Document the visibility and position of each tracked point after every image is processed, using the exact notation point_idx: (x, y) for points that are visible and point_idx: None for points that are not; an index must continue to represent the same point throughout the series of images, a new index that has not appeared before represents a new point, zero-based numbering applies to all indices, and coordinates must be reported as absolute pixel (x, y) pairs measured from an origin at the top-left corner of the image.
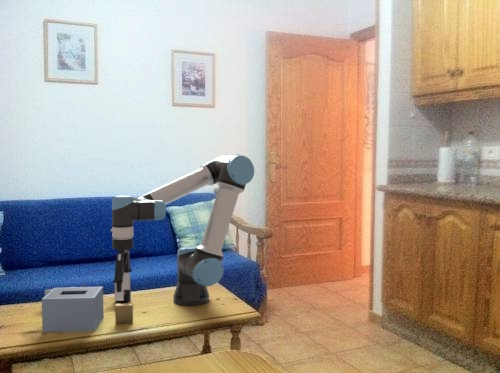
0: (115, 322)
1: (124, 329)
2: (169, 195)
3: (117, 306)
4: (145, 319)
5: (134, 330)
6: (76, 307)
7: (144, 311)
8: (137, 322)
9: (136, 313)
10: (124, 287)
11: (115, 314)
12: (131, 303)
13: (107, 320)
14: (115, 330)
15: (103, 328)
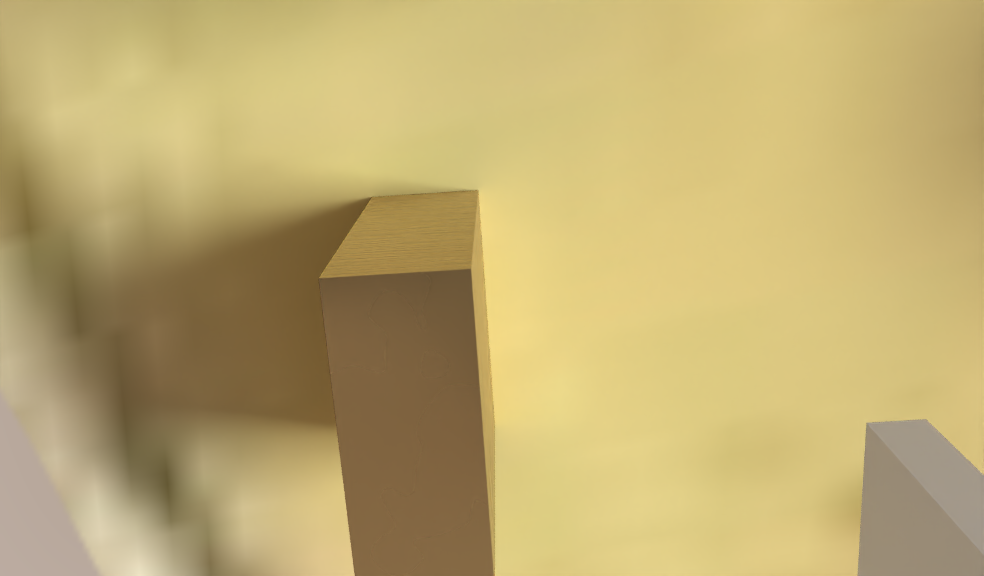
0: (369, 203)
1: (181, 373)
2: None
3: (326, 323)
4: (578, 570)
5: (155, 509)
6: None
7: None
8: None
9: (854, 402)
10: (887, 521)
11: (345, 238)
12: (493, 564)
13: (561, 14)
14: (133, 257)
15: (200, 50)
